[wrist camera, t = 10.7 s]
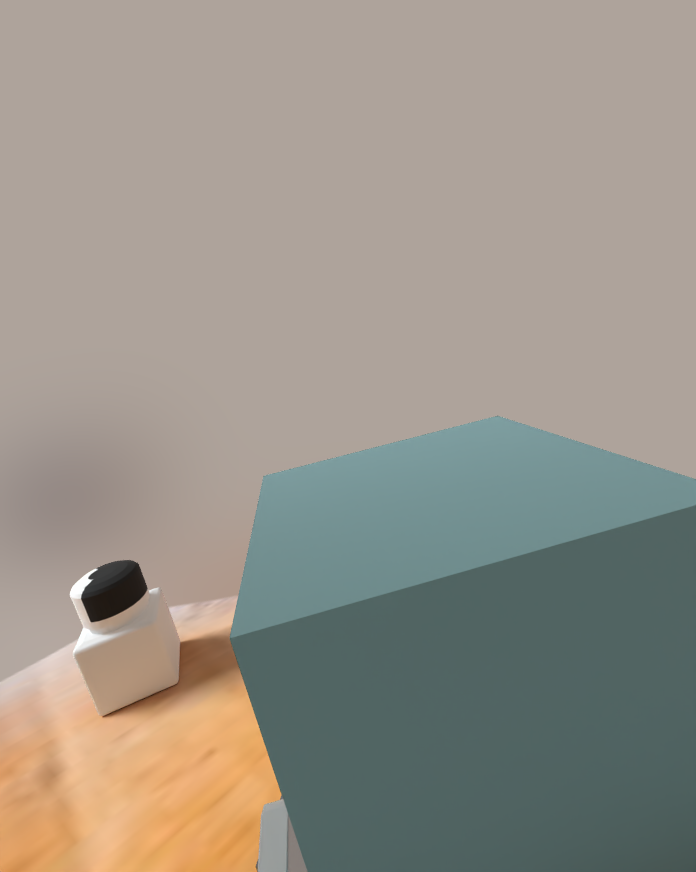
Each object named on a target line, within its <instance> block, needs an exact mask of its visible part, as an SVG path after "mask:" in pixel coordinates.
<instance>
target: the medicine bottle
mask: <svg viewBox="0 0 696 872" xmlns="http://www.w3.org/2000/svg"><path fill="white" fill-rule="evenodd" d="M70 597H71V599H72V602H73V604H74V606H75V609H76V611H77V613H78V616H79V618H80V620H81V623H82V625H83V627H84V628H83V630H82V633H81V635H80V637H79V640H78V642H77V644H76V647H75V649H74V651H73V657H74V659H75V661H76V664H77V666H78V668H79V671H80V673H81V675H82V677H83V680H84V682H85V684H86V687H87V689H88V691H89V693H90V696H91V698H92V700H93V703H94V705H95V707H96V710H97V712H98V714H99V715H100V716H104V715H107V714H109V713H111V712H113V711H116V710H118V709H120V708H123V707H125V706H127V705H129V704H132V703H134V702H136V701H139V700H141V699H143V698H145V697H148V696H150V695H152V694H155V693H157V692H159V691H161V690H164V689H166V688H168V687H170V686H173V685H175V684H177V683H178V681H179V660H180V638H179V636H178V633H177V630H176V628H175V625H174V622H173V619H172V617H171V614H170V611H169V609H168V606H167V603H166V601H165V598H164V595H163V592H162V590H161V588H155V589H152V590H150V591H148V588H147V585H146V583H145V580H144V577H143V575H142V572H141V569H140V567H139V564H138V563H136V562H134V561H131V560H124V561H116V562H112V563H108V564H105V565H103V566H101V567H98V568H96V569H94V570H92V571H91V572H89V573H87V574H86V575H85V576H83V577H82V578H81V579H80V580H79V581H78V582H76V584H75V585H74V586H73V587H72V590H71V592H70Z"/></svg>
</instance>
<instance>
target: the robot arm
mask: <svg viewBox="0 0 696 872" xmlns="http://www.w3.org/2000/svg"><path fill="white" fill-rule="evenodd" d="M258 872H307V869H306V866H305V863H304V860H303V857H302V854H301V851H300V848H299V845H298V842H297V839H296V836H295V833H294V830H293V827H292V824H291V821H290V818H289V815H288V812H287V809H286V806H285V803H284V800H283V799H281V800H278V801H275V802H272V803H268V804H265V805H264V807H263V811H262V814H261V827H260V843H259V859H258Z"/></svg>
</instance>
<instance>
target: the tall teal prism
mask: <svg viewBox="0 0 696 872" xmlns="http://www.w3.org/2000/svg"><path fill="white" fill-rule="evenodd" d="M230 641H231V644H232V647H233V650H234V653H235V656H236V659H237V662H238V665H239V668H240V671H241V674H242V677H243V680H244V683H245V686H246V689H247V692H248V695H249V698H250V701H251V704H252V707H253V710H254V713H255V716H256V719H257V722H258V725H259V728H260V731H261V734H262V737H263V740H264V743H265V746H266V749H267V752H268V755H269V758H270V761H271V764H272V767H273V770H274V773H275V776H276V779H277V782H278V785H279V788H280V791H281V794H282V797H283V800H284V803H285V806H286V809H287V812H288V815H289V818H290V821H291V824H292V827H293V830H294V833H295V836H296V839H297V842H298V845H299V848H300V851H301V854H302V857H303V860H304V863H305V866H306V869H307V872H696V479H693V478H690V477H687V476H684V475H681V474H678V473H674V472H671V471H668V470H665V469H662V468H659V467H656V466H653V465H650V464H646V463H643V462H640V461H637V460H634V459H631V458H628V457H625V456H621V455H618V454H615V453H612V452H609V451H606V450H603V449H600V448H596V447H593V446H590V445H587V444H584V443H581V442H578V441H575V440H571V439H568V438H565V437H562V436H559V435H556V434H553V433H550V432H547V431H543V430H540V429H537V428H534V427H531V426H528V425H525V424H522V423H518V422H515V421H512V420H509V419H506V418H503V417H500V416H495V417H491V418H488V419H484V420H480V421H476V422H472V423H468V424H464V425H460V426H457V427H453V428H449V429H445V430H441V431H437V432H433V433H430V434H425V435H422V436H418V437H414V438H410V439H406V440H402V441H398V442H394V443H390V444H387V445H382V446H379V447H375V448H371V449H367V450H363V451H359V452H355V453H351V454H347V455H344V456H340V457H336V458H332V459H328V460H324V461H320V462H316V463H312V464H308V465H305V466H301V467H297V468H293V469H289V470H285V471H282V472H278V473H273V474H270V475H266V476H264V477H263V482H262V486H261V491H260V496H259V501H258V505H257V510H256V515H255V520H254V524H253V529H252V534H251V539H250V544H249V548H248V553H247V558H246V562H245V567H244V572H243V577H242V582H241V586H240V591H239V596H238V600H237V605H236V610H235V615H234V619H233V624H232V629H231V634H230Z"/></svg>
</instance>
